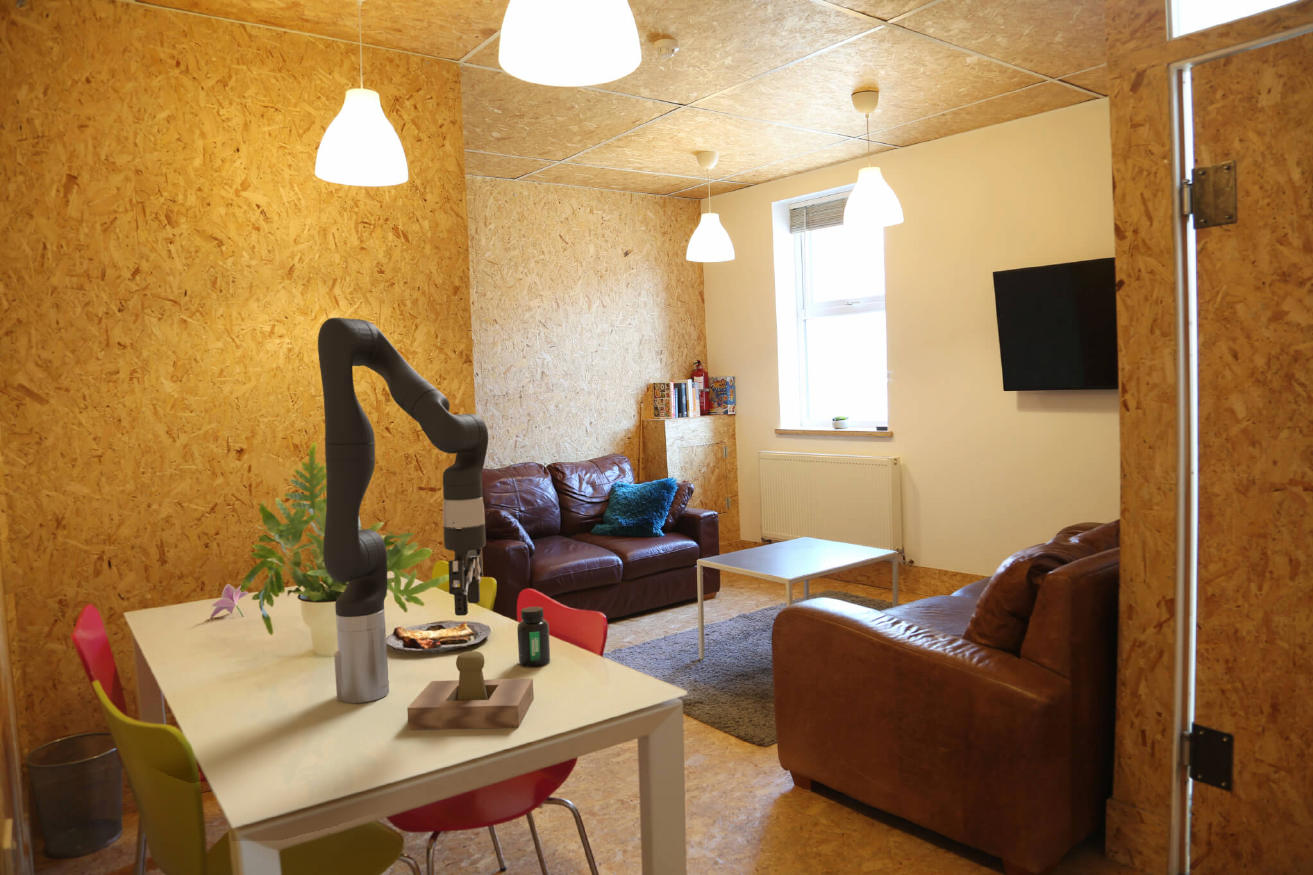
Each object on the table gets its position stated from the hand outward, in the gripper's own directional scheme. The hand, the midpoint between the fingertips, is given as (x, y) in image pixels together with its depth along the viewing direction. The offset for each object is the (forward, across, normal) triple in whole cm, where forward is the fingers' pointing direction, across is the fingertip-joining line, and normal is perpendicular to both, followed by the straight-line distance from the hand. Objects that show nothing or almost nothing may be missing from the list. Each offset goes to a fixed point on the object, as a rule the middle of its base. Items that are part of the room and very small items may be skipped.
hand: (467, 608), depth 158 cm
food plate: (+21, -47, -21) cm, 55 cm away
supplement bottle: (+20, -29, +6) cm, 36 cm away
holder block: (+20, 0, 0) cm, 20 cm away
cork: (+20, 0, 0) cm, 20 cm away
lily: (+22, -77, -90) cm, 120 cm away
